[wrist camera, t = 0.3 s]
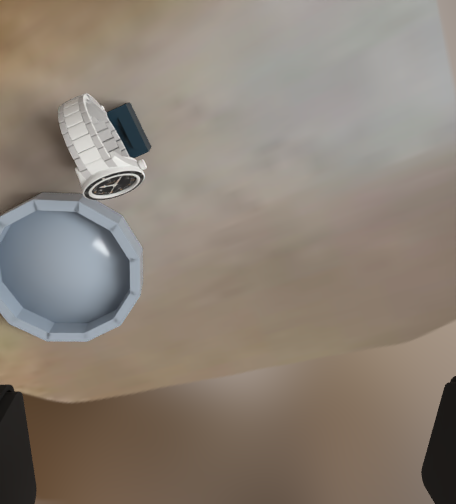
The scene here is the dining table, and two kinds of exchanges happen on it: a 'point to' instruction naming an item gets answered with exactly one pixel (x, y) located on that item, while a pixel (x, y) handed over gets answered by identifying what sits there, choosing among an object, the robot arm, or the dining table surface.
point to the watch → (103, 146)
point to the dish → (67, 267)
